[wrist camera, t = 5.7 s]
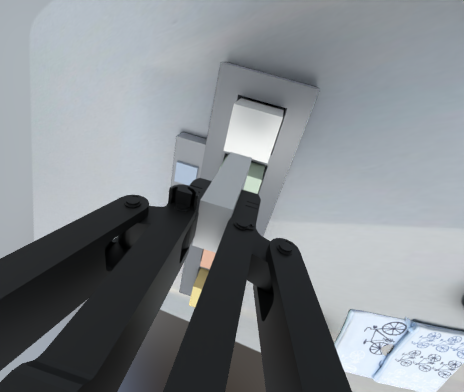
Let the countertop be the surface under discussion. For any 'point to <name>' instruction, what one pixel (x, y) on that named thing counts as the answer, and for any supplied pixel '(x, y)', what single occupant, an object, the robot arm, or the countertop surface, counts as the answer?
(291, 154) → the keypad
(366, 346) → the folded patterned cloth
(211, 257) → the key terracotta
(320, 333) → the robot arm
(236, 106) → the key white
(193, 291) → the key mustard
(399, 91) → the countertop surface
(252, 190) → the key sage
